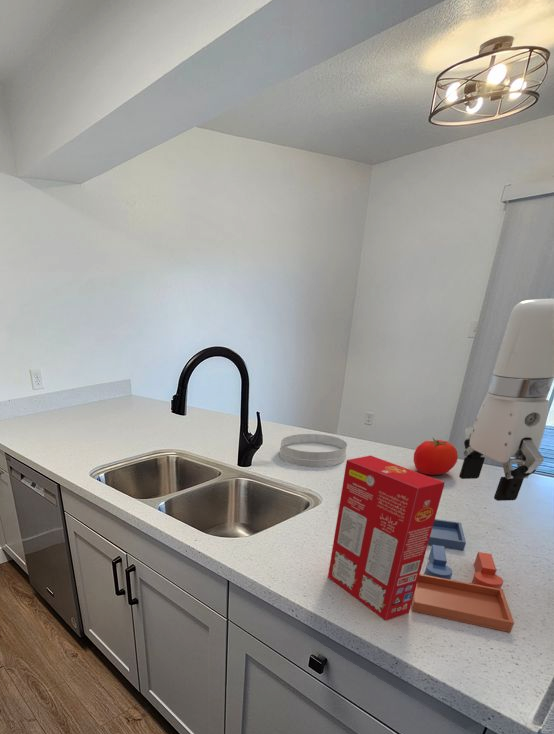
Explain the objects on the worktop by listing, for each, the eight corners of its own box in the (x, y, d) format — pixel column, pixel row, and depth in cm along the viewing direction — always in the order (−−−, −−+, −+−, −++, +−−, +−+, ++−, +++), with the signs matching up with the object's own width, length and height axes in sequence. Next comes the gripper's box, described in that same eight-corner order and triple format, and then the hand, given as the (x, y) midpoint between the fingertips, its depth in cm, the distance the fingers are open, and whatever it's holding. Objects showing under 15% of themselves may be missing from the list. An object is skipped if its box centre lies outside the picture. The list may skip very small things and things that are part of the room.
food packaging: (408, 612, 77) (444, 482, 66) (385, 620, 76) (418, 488, 64) (348, 571, 90) (370, 455, 78) (327, 577, 88) (346, 459, 77)
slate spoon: (446, 559, 92) (450, 547, 90) (451, 584, 84) (455, 571, 83) (422, 555, 94) (426, 543, 92) (424, 579, 86) (428, 567, 84)
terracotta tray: (499, 598, 80) (503, 589, 79) (510, 632, 72) (514, 623, 71) (411, 580, 86) (413, 572, 85) (411, 610, 78) (414, 601, 77)
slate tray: (458, 530, 102) (461, 522, 101) (463, 550, 94) (466, 542, 94) (391, 520, 108) (392, 513, 108) (390, 538, 101) (391, 531, 100)
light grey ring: (346, 449, 158) (348, 435, 156) (344, 469, 141) (346, 454, 138) (284, 444, 167) (285, 432, 165) (274, 463, 149) (275, 449, 147)
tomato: (422, 463, 142) (430, 432, 137) (460, 473, 133) (470, 440, 128) (401, 472, 136) (408, 440, 132) (438, 482, 127) (447, 448, 123)
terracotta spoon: (493, 567, 88) (498, 554, 87) (502, 594, 80) (507, 581, 79) (467, 563, 90) (471, 550, 89) (473, 589, 82) (478, 576, 81)
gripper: (591, 397, 60) (546, 509, 68) (506, 377, 75) (477, 470, 83) (534, 399, 60) (495, 510, 68) (461, 379, 76) (436, 471, 84)
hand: (485, 488), depth 76 cm, fingers open, 9 cm apart
